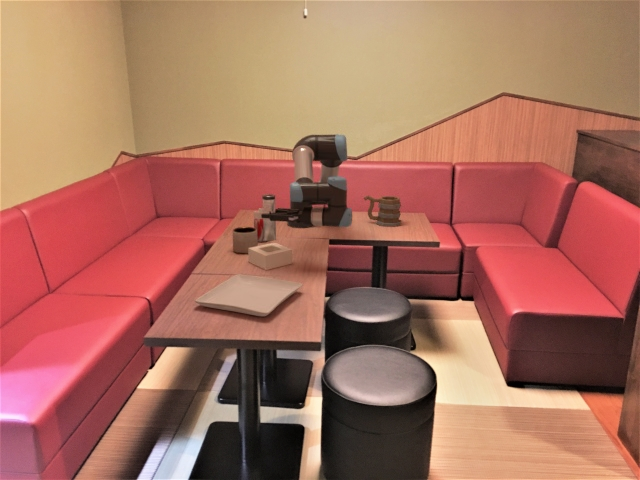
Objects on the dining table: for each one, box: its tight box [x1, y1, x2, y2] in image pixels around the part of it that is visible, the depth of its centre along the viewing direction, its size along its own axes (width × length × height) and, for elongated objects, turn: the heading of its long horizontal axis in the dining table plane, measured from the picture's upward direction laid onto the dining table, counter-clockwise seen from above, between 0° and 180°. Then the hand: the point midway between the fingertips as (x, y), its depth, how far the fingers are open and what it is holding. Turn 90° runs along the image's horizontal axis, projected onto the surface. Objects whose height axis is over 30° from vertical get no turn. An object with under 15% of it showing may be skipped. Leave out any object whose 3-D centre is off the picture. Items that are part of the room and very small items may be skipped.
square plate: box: [194, 273, 304, 317], centre depth 177 cm, size 27×27×4 cm
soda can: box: [253, 218, 267, 243], centre depth 245 cm, size 7×7×12 cm
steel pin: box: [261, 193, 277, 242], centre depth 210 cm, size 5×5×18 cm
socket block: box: [247, 242, 294, 271], centre depth 214 cm, size 13×13×6 cm
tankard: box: [363, 195, 402, 228], centre depth 277 cm, size 20×13×15 cm, turn 78°
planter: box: [232, 226, 259, 255], centre depth 230 cm, size 11×11×10 cm
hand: (256, 213), depth 210 cm, fingers closed on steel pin, 5 cm apart
